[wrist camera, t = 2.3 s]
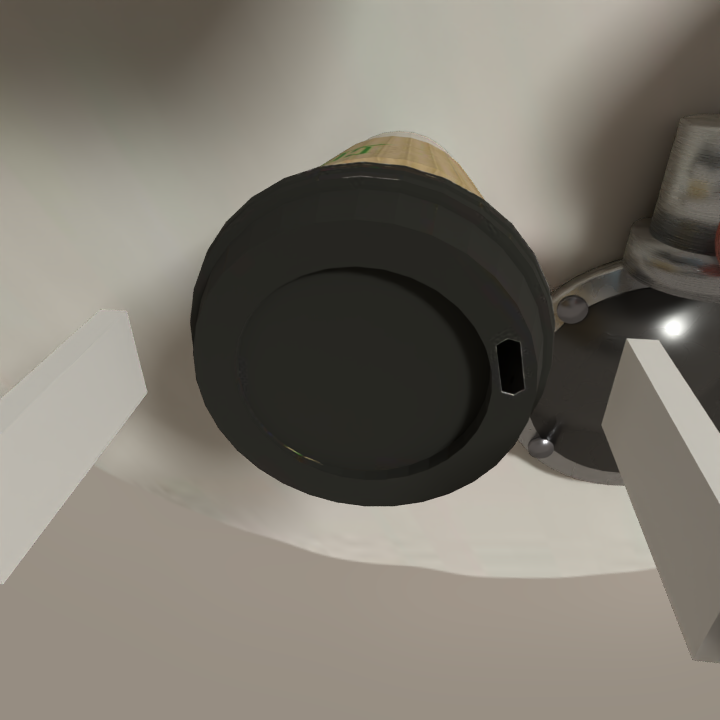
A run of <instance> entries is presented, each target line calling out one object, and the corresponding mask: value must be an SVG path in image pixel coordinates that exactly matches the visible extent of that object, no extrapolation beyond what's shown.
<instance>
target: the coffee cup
mask: <svg viewBox="0 0 720 720" xmlns="http://www.w3.org/2000/svg"><path fill="white" fill-rule="evenodd" d="M190 324H191V333H192V341H193V355H194V364H195V372H196V380H197V383H198V386H199V389H200V392H201V394H202V397H203V400H204V403H205V406H206V407H207V409H208V411H209V413H210V414H211V416H212V418H213V419H214V421H215V423H216V425H217V426H218V428H219V430H220V431H221V432H222V433H223V434H224V435H225V437H226V438H227V439H228V440H229V441H230V442H231V444H232V445H233V446H234V447H235V448H236V449H237V451H239V452H240V453H241V454H242V455H243V456H245V457H246V458H247V459H248V460H249V461H250V462H252V463H253V464H254V465H255V466H256V467H258V468H259V469H260V470H262V471H264V472H265V473H267V474H269V475H270V476H272V477H273V478H275V479H277V480H278V481H280V482H282V483H283V484H286V485H288V486H290V487H293V488H295V489H297V490H300V491H302V492H304V493H306V494H309V495H312V496H316V497H319V498H323V499H327V500H330V501H334V502H338V503H345V504H353V505H360V506H398V505H405V504H412V503H419V502H424V501H427V500H430V499H434V498H437V497H440V496H444V495H447V494H450V493H452V492H454V491H456V490H458V489H460V488H462V487H464V486H466V485H468V484H470V483H472V482H474V481H475V480H477V479H478V478H479V477H481V476H482V475H484V474H485V473H486V472H488V471H489V470H490V469H492V468H493V467H494V466H496V465H497V464H498V463H499V462H500V460H501V459H502V458H503V457H504V456H505V455H506V454H507V453H508V452H509V451H510V449H511V448H512V447H513V446H514V445H515V443H516V442H517V440H518V438H519V436H520V435H521V433H522V431H523V430H524V428H525V426H526V424H527V423H528V421H529V418H530V416H531V414H532V413H533V411H534V409H535V407H536V406H537V404H538V402H539V400H540V399H541V397H542V395H543V393H544V390H545V386H546V383H547V380H548V376H549V373H550V370H551V367H552V363H553V352H554V335H555V316H554V311H553V305H552V299H551V294H550V288H549V285H548V283H547V281H546V278H545V276H544V274H543V272H542V269H541V267H540V265H539V262H538V260H537V258H536V256H535V254H534V252H533V251H532V250H531V248H530V247H529V246H528V244H527V243H526V242H525V240H524V239H523V238H522V236H521V235H520V234H519V232H518V231H517V230H516V228H515V227H514V225H513V224H512V223H511V222H509V221H508V220H507V219H506V218H505V217H504V216H503V215H501V214H500V213H499V212H498V211H497V210H496V209H494V208H493V207H492V206H491V205H490V204H489V203H487V202H486V201H485V200H484V198H483V197H482V195H481V194H480V192H479V191H478V190H477V188H476V187H475V185H474V184H473V182H472V181H471V179H470V178H469V177H468V175H467V174H466V173H465V171H464V170H463V169H462V167H461V166H460V165H459V164H458V163H457V162H456V161H455V160H454V159H452V158H451V156H450V155H449V154H448V152H447V151H445V150H444V149H443V148H442V147H441V146H440V145H439V144H437V143H436V142H434V141H432V140H430V139H429V138H427V137H425V136H422V135H418V134H415V133H412V132H401V131H396V132H388V133H383V134H380V135H377V136H374V137H371V138H370V139H368V140H366V141H364V142H361V143H358V144H356V145H354V146H352V147H351V148H349V149H347V150H345V151H344V152H342V153H340V154H339V155H337V156H336V157H334V158H332V159H331V160H329V161H328V162H326V163H325V164H323V165H321V166H320V167H317V168H314V169H311V170H308V171H305V172H302V173H299V174H296V175H293V176H290V177H287V178H284V179H282V180H280V181H279V182H277V183H275V184H274V185H272V186H270V187H269V188H267V189H265V190H264V191H262V192H260V193H258V194H257V195H255V196H253V197H252V198H251V199H250V200H249V201H248V202H246V203H245V204H244V205H243V206H242V207H241V208H240V209H239V210H238V211H237V212H236V213H235V214H234V215H233V216H232V217H231V218H230V219H229V220H228V221H227V222H226V223H225V224H224V226H223V227H222V229H221V230H220V232H219V234H218V235H217V237H216V238H215V240H214V241H213V243H212V244H211V246H210V247H209V249H208V251H207V253H206V256H205V259H204V262H203V265H202V267H201V270H200V273H199V276H198V279H197V281H196V284H195V287H194V292H193V301H192V310H191V320H190Z"/></svg>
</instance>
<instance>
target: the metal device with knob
mask: <svg viewBox="0 0 720 720" xmlns="http://www.w3.org/2000/svg"><path fill="white" fill-rule="evenodd" d="M551 299H552V305H553V311H554V316H555V335H554V352H553V363H552V367H551V370H550V373H549V376H548V380H547V383H546V386H545V390H544V393H543V395H542V397H541V399H540V400H539V402H538V404H537V406H536V407H535V409H534V411H533V413H532V414H531V416H530V418H529V421H528V423H527V424H526V426H525V428H524V430H523V431H522V433H521V435H520V436H519V438H518V440H519V442H520V443H521V444H522V445H523V446H524V447H525V448H526V450H527V451H528V452H529V454H530V455H531V456H533V457H535V458H536V459H538V460H539V461H540V462H542V463H543V464H545V465H547V466H548V467H550V468H551V469H553V470H556V471H558V472H560V473H562V474H564V475H567V476H570V477H573V478H576V479H579V480H583V481H587V482H591V483H597V484H605V485H621V486H625V485H624V482H623V479H622V477H621V474H620V472H619V469H618V466H617V464H616V461H615V459H614V456H613V453H612V451H611V448H610V446H609V443H608V441H607V438H606V435H605V433H604V430H603V428H602V425H601V424H602V421H603V418H604V414H605V411H606V407H607V404H608V400H609V397H610V393H611V390H612V387H613V383H614V380H615V376H616V373H617V369H618V366H619V362H620V359H621V356H622V352H623V349H624V345H625V342H626V338H630V339H648V340H659V341H660V343H661V345H662V346H663V348H664V349H665V351H666V352H667V354H668V355H669V357H670V358H671V360H672V361H673V363H674V364H675V366H676V367H677V369H678V370H679V372H680V374H681V375H682V377H683V378H684V380H685V381H686V383H687V384H688V386H689V387H690V389H691V390H692V392H693V393H694V395H695V396H696V398H697V399H698V401H699V402H700V404H701V406H702V407H703V409H704V410H705V412H706V413H707V415H708V416H709V418H710V419H711V421H712V422H713V424H714V425H715V427H716V428H717V430H718V431H719V433H720V114H701V115H691V116H686V117H683V118H681V119H680V123H679V126H678V129H677V133H676V136H675V140H674V143H673V147H672V150H671V154H670V157H669V161H668V164H667V168H666V171H665V175H664V178H663V182H662V185H661V189H660V192H659V196H658V199H657V203H656V206H655V210H654V213H653V217H652V218H642V219H640V220H638V221H636V222H635V223H633V225H632V227H631V231H630V234H629V238H628V242H627V246H626V249H625V253H624V257H623V259H621V260H617V261H613V262H611V263H608V264H605V265H602V266H599V267H597V268H594V269H592V270H590V271H588V272H586V273H584V274H581V275H579V276H577V277H575V278H574V279H572V280H571V281H569V282H567V283H566V284H564V285H563V286H561V287H559V288H558V289H557V290H555V291H554V292H553V293H552V294H551Z"/></svg>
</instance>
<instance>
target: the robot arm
mask: <svg viewBox="0 0 720 720" xmlns="http://www.w3.org/2000/svg"><path fill="white" fill-rule="evenodd" d="M146 394H147V389H146V385H145V381H144V377H143V373H142V369H141V365H140V361H139V357H138V353H137V349H136V345H135V341H134V337H133V333H132V329H131V325H130V321H129V317H128V313H127V311H124V310H106V309H100V310H99V311H98V312H97V313H96V314H95V315H93V316H92V317H91V318H90V319H89V320H88V321H87V322H86V323H85V324H83V325H82V326H81V327H80V328H79V329H78V330H77V331H76V332H75V333H73V334H72V335H71V336H70V337H69V338H68V339H67V340H66V341H65V342H63V343H62V344H61V345H60V346H59V347H58V348H57V349H56V350H54V351H53V352H52V353H51V354H50V355H49V356H48V357H47V358H46V359H44V360H43V361H42V362H41V363H40V364H39V365H38V366H37V367H36V368H34V369H33V370H32V371H31V372H30V373H29V374H28V375H27V376H26V377H24V378H23V379H22V380H21V381H20V382H19V383H18V384H17V385H15V386H14V387H13V388H12V389H11V390H10V391H9V392H8V393H7V394H5V395H4V396H3V397H2V398H1V399H0V584H4V583H5V582H6V580H7V579H8V578H9V576H10V575H11V574H12V572H13V571H14V570H15V568H16V567H17V566H18V564H19V563H20V562H21V560H22V559H23V557H24V556H25V555H26V554H27V552H28V551H29V550H30V548H31V547H32V546H33V544H34V543H35V542H36V540H37V539H38V538H39V536H40V535H41V533H42V532H43V531H44V530H45V528H46V527H47V526H48V524H49V523H50V522H51V520H52V519H53V518H54V516H55V515H56V514H57V512H58V511H59V510H60V508H61V507H62V506H63V504H64V503H65V502H66V500H67V499H68V498H69V497H70V495H71V494H72V493H73V491H74V490H75V488H76V487H77V486H78V485H79V483H80V482H81V481H82V479H83V478H84V477H85V475H86V474H87V473H88V471H89V470H90V469H91V467H92V466H93V465H94V463H95V462H96V461H97V459H98V458H99V457H100V455H101V454H102V453H103V451H104V450H105V449H106V447H107V446H108V445H109V443H110V442H111V441H112V439H113V438H114V437H115V435H116V434H117V433H118V431H119V430H120V429H121V427H122V426H123V425H124V423H125V422H126V421H127V419H128V418H129V417H130V415H131V414H132V413H133V411H134V410H135V409H136V407H137V406H138V405H139V403H140V402H141V401H142V399H143V398H144V397H145V395H146ZM601 425H602V428H603V430H604V433H605V435H606V438H607V441H608V443H609V446H610V448H611V451H612V453H613V456H614V459H615V461H616V464H617V466H618V469H619V472H620V474H621V477H622V479H623V482H624V485H625V487H626V490H627V492H628V495H629V497H630V500H631V503H632V505H633V508H634V510H635V513H636V516H637V518H638V521H639V523H640V526H641V528H642V531H643V534H644V536H645V539H646V541H647V544H648V547H649V549H650V552H651V554H652V557H653V559H654V562H655V565H656V567H657V570H658V572H659V575H660V578H661V580H662V583H663V585H664V588H665V590H666V593H667V596H668V598H669V601H670V603H671V606H672V609H673V611H674V613H675V616H676V619H677V621H678V624H679V627H680V629H681V632H682V634H683V637H684V640H685V642H686V645H687V647H688V650H689V652H690V655H691V658H692V660H695V661H705V662H714V663H720V433H719V431H718V430H717V428H716V427H715V425H714V424H713V422H712V421H711V419H710V418H709V416H708V415H707V413H706V412H705V410H704V409H703V407H702V406H701V404H700V402H699V401H698V399H697V398H696V396H695V395H694V393H693V392H692V390H691V389H690V387H689V386H688V384H687V383H686V381H685V380H684V378H683V377H682V375H681V374H680V372H679V370H678V369H677V367H676V366H675V364H674V363H673V361H672V360H671V358H670V357H669V355H668V354H667V352H666V351H665V349H664V348H663V346H662V345H661V343H660V341H659V340H648V339H630V338H626V342H625V345H624V349H623V352H622V356H621V359H620V362H619V366H618V369H617V373H616V376H615V380H614V383H613V387H612V390H611V393H610V397H609V400H608V404H607V407H606V411H605V414H604V418H603V421H602V424H601Z"/></svg>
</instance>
